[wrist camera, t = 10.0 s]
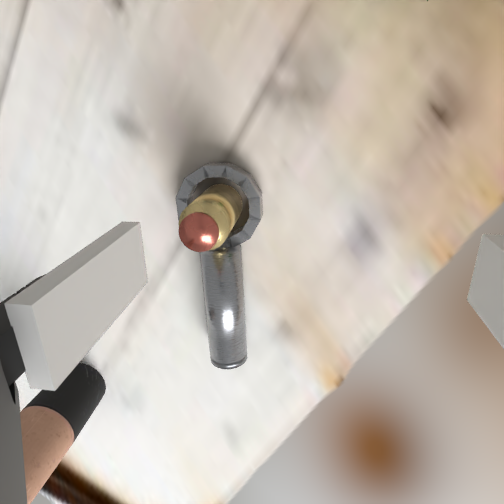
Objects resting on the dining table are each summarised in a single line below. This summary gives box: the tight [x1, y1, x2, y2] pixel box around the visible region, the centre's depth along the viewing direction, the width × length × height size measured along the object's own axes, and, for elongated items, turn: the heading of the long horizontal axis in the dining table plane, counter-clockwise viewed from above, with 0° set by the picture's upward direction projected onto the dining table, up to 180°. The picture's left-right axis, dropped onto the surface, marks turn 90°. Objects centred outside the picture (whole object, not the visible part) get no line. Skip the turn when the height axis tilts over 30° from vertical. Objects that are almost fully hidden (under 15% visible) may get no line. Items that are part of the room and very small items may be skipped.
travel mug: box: [20, 363, 106, 504], centre depth 47 cm, size 8×8×20 cm
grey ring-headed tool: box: [176, 163, 263, 369], centre depth 43 cm, size 24×9×5 cm, turn 3°
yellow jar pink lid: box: [179, 184, 243, 252], centre depth 38 cm, size 5×5×10 cm
